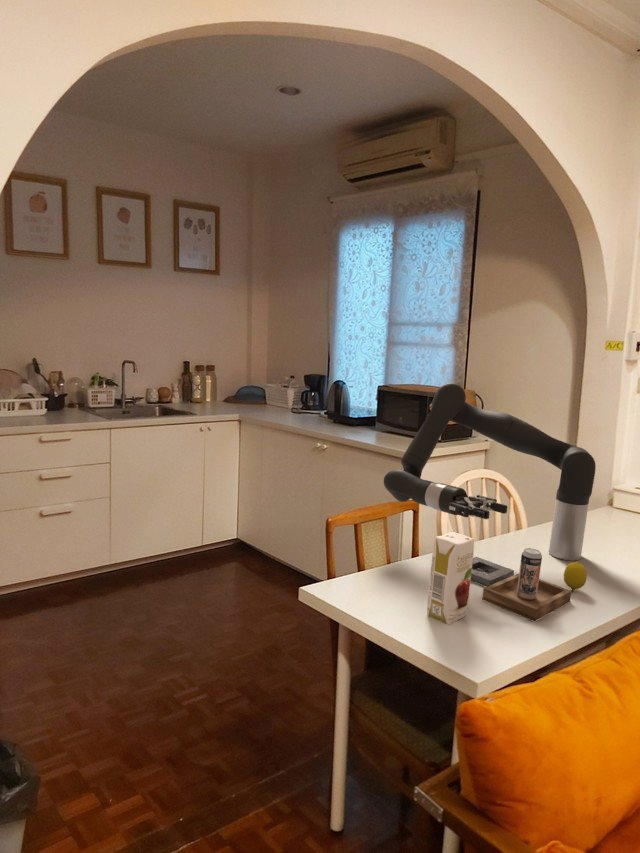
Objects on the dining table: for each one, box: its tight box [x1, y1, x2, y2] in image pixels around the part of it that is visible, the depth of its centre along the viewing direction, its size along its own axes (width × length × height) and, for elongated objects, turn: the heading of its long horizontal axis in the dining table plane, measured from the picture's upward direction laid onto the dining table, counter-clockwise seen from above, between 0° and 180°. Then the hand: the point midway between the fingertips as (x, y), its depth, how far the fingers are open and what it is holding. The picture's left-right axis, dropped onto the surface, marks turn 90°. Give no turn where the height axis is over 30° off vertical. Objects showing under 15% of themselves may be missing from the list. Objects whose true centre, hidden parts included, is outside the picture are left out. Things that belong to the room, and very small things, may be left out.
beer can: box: [517, 547, 543, 600], centre depth 155 cm, size 5×5×12 cm
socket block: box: [470, 556, 515, 587], centre depth 170 cm, size 12×12×2 cm
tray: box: [481, 572, 573, 622], centre depth 155 cm, size 18×14×3 cm
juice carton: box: [426, 531, 475, 625], centre depth 143 cm, size 8×9×19 cm
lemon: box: [563, 560, 588, 591], centre depth 164 cm, size 6×6×8 cm
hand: (497, 512), depth 160 cm, fingers open, 8 cm apart
